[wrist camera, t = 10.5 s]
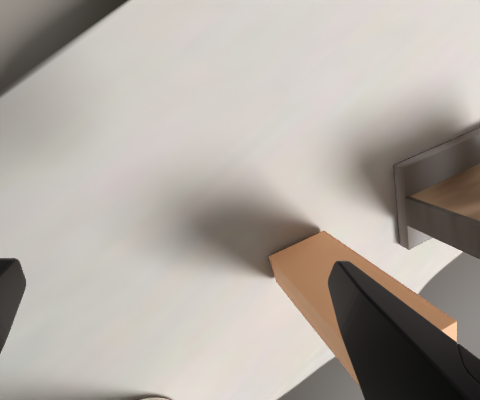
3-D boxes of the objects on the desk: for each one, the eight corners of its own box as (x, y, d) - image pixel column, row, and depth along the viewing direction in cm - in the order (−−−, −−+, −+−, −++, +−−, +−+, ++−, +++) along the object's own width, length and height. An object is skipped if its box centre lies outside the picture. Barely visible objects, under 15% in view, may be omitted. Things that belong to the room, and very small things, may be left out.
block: (276, 281, 24) (376, 407, 14) (268, 256, 23) (370, 372, 13) (329, 255, 25) (456, 356, 15) (324, 230, 24) (456, 321, 14)
